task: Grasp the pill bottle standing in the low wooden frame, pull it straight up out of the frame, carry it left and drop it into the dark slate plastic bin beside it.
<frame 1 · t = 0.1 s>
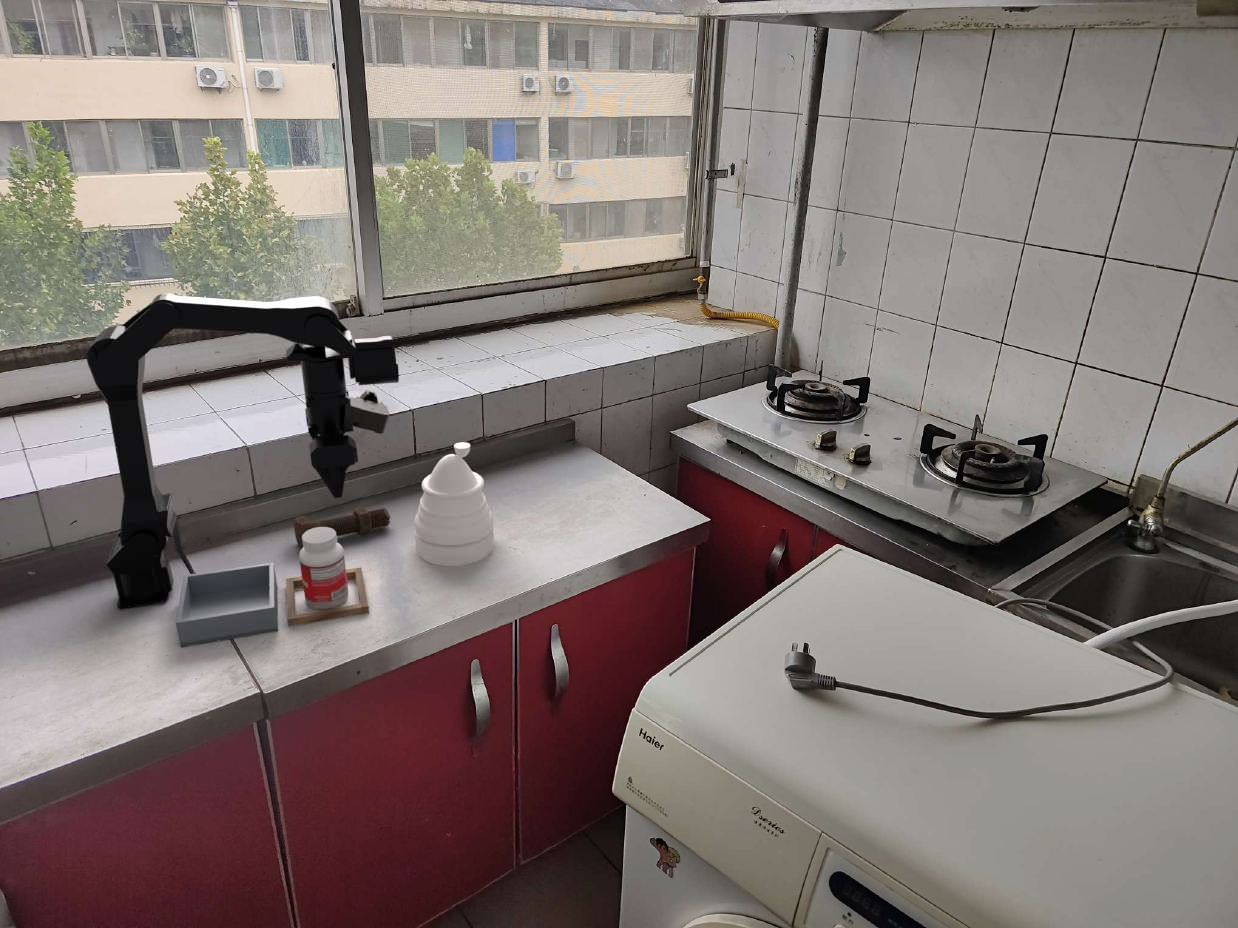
hand: (335, 484, 126), 15 cm above the counter, fingers open, 9 cm apart
bin: (232, 614, 119), on the counter
bolt: (345, 538, 140), on the counter
honey pot: (455, 546, 139), on the counter
wooden frame: (327, 598, 123), on the counter
pill bottle: (327, 600, 123), resting in wooden frame
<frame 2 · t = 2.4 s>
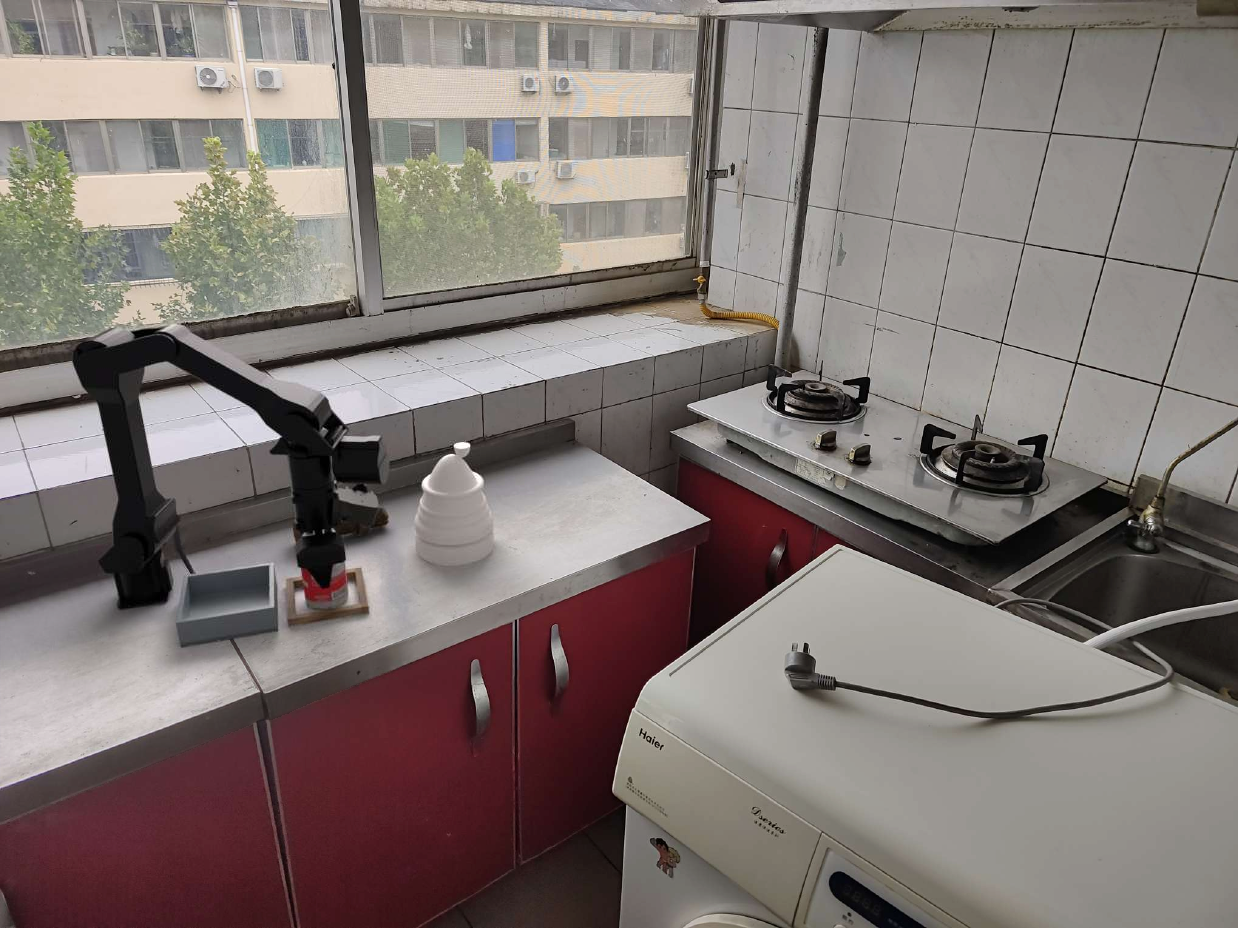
hand: (324, 575, 122), 4 cm above the counter, fingers closed on pill bottle, 6 cm apart
pill bottle: (327, 599, 123), resting in wooden frame, touching gripper
everything else where it was.
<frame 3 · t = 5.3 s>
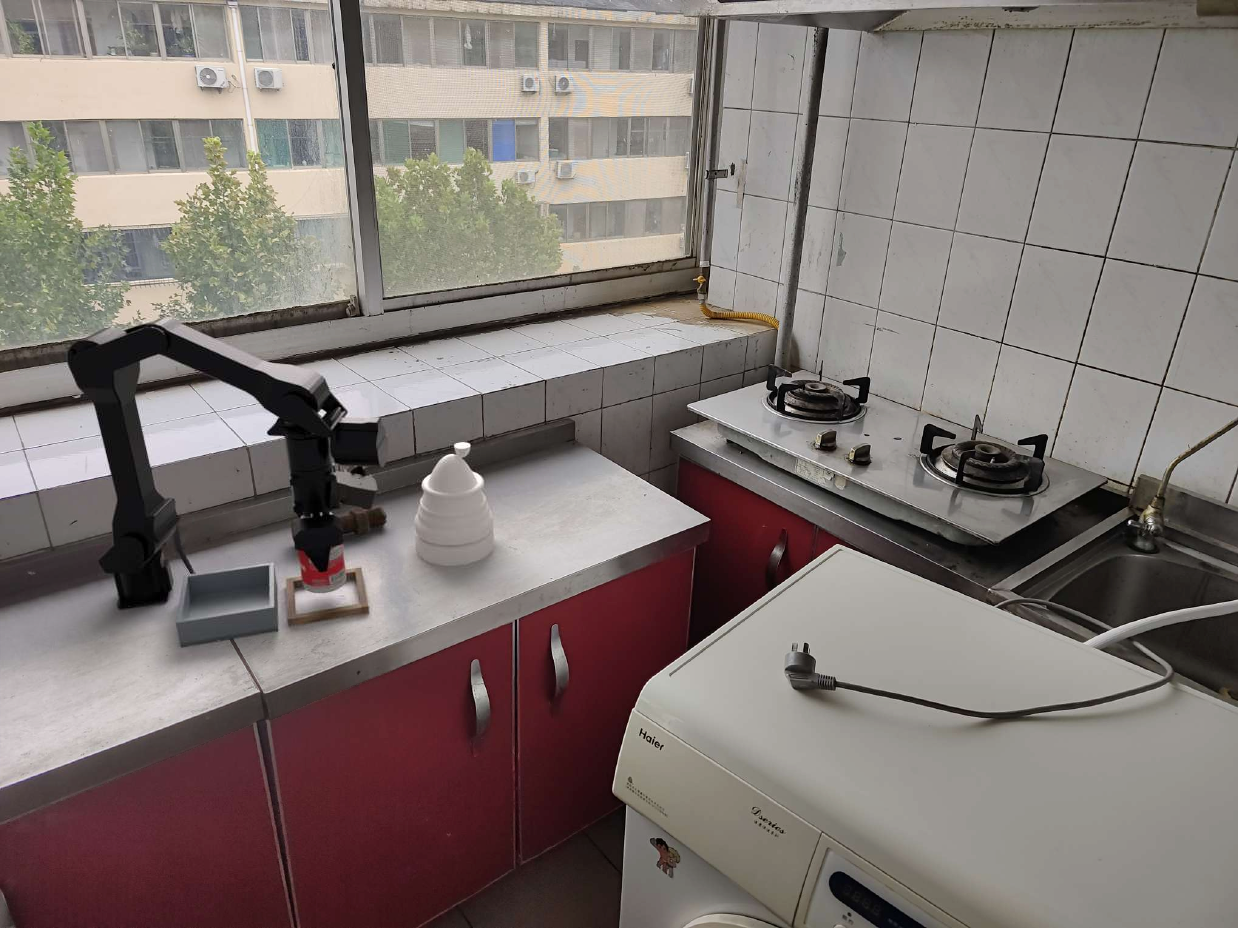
hand: (322, 559, 120), 7 cm above the counter, fingers closed on pill bottle, 6 cm apart
pill bottle: (325, 584, 122), point 3 cm above the counter, touching gripper
everything else where it was.
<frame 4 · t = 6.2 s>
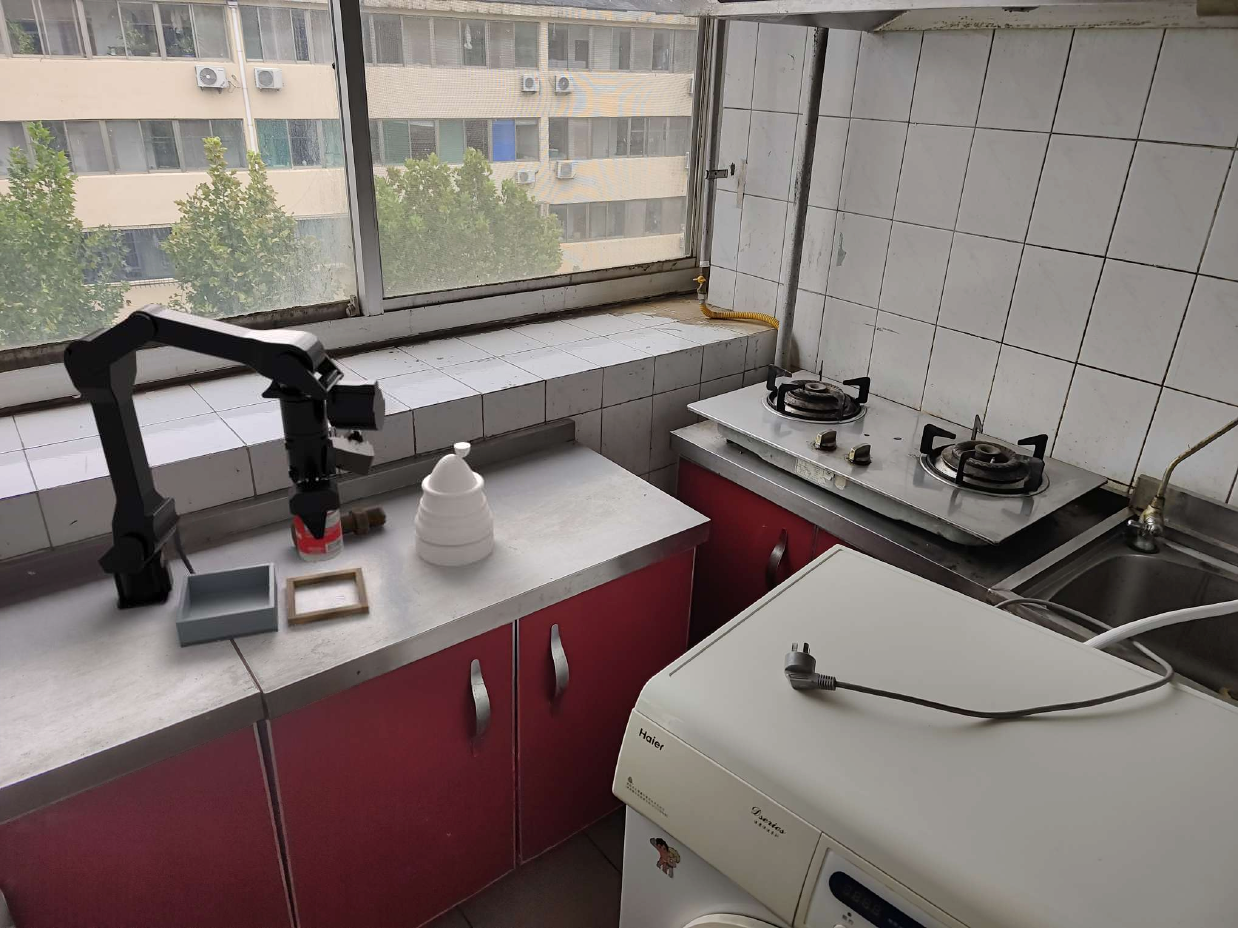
hand: (318, 527, 118), 12 cm above the counter, fingers closed on pill bottle, 6 cm apart
pill bottle: (321, 553, 120), point 8 cm above the counter, touching gripper
everything else where it was.
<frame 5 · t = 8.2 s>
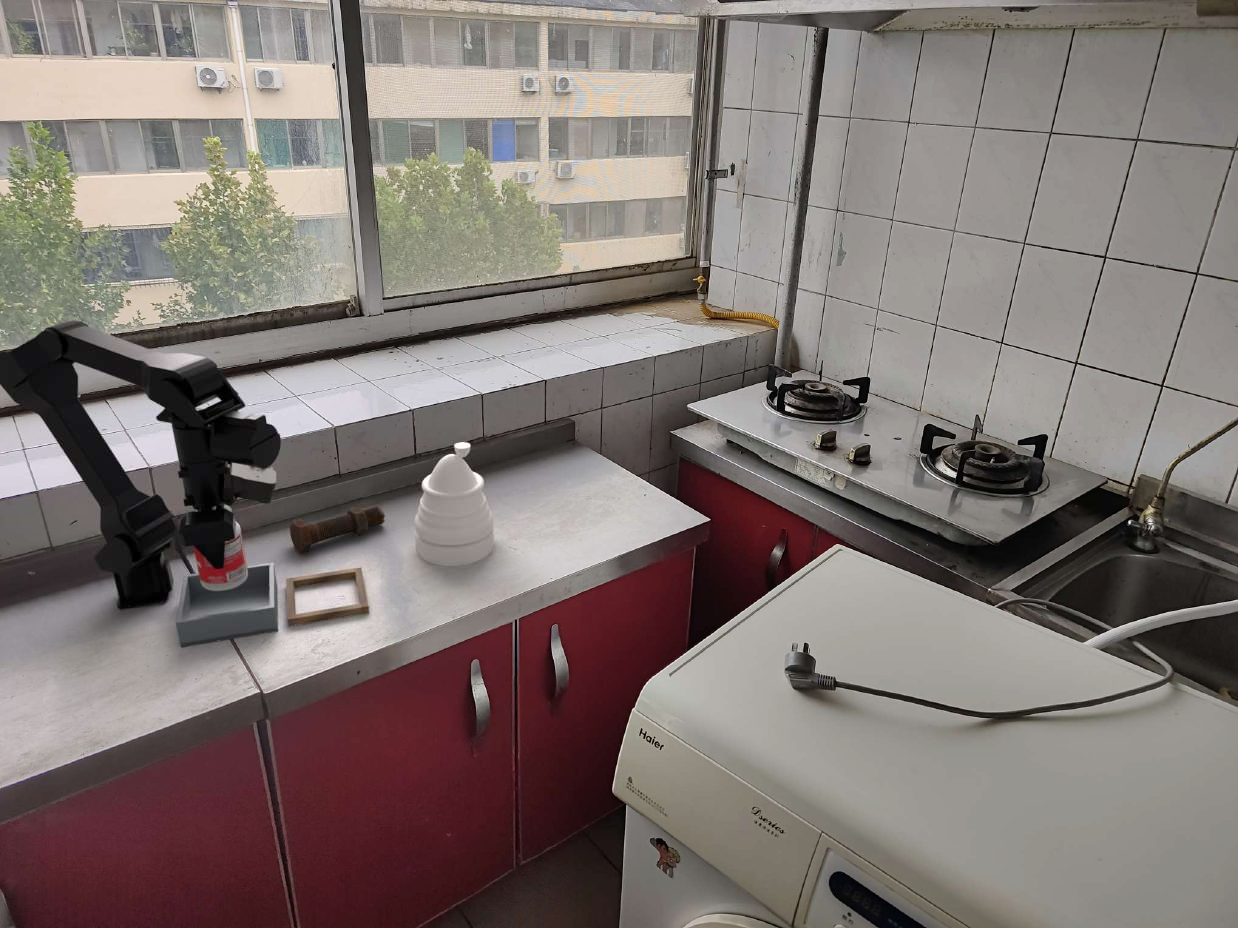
hand: (220, 556, 115), 10 cm above the counter, fingers closed on pill bottle, 6 cm apart
pill bottle: (225, 581, 117), point 5 cm above the counter, touching gripper
everything else where it was.
when the fingers open (6 cm above the counter, at t = 9.6 s): pill bottle drops 1 cm, resting on bin.
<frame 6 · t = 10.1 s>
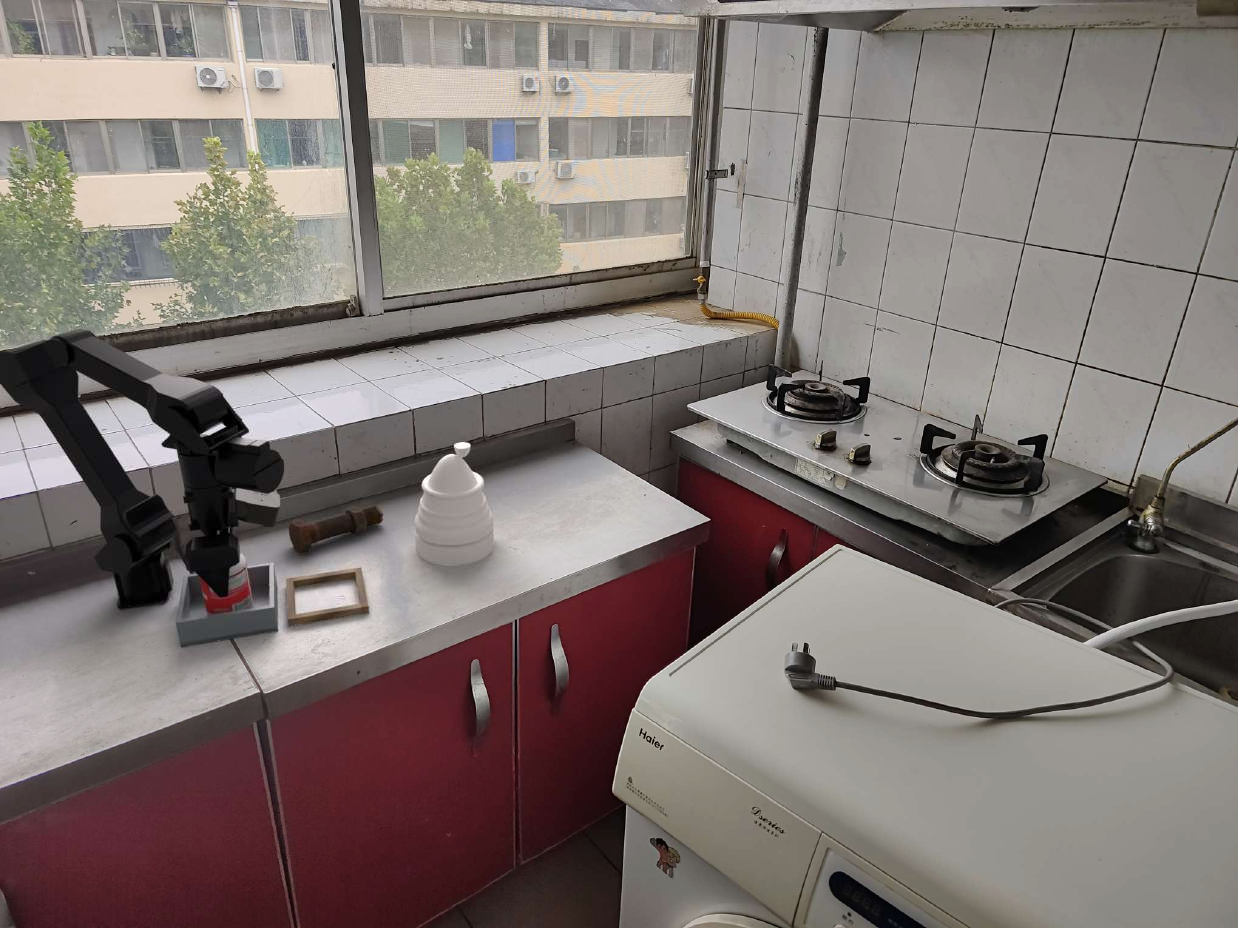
hand: (225, 578, 116), 6 cm above the counter, fingers open, 9 cm apart
pill bottle: (231, 612, 119), resting on bin
everything else where it was.
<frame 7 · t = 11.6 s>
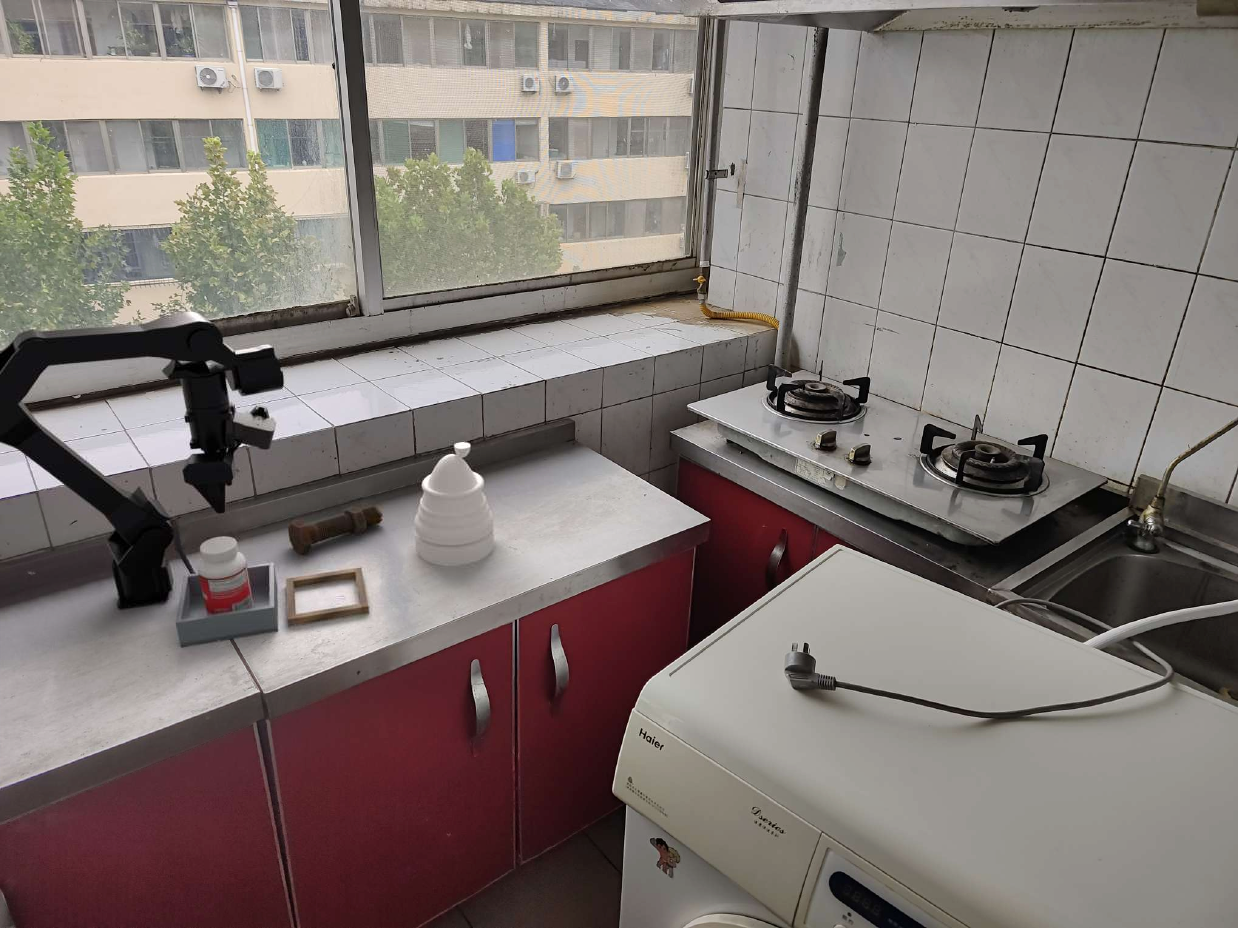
hand: (225, 498, 125), 12 cm above the counter, fingers open, 9 cm apart
nothing on the counter moved.
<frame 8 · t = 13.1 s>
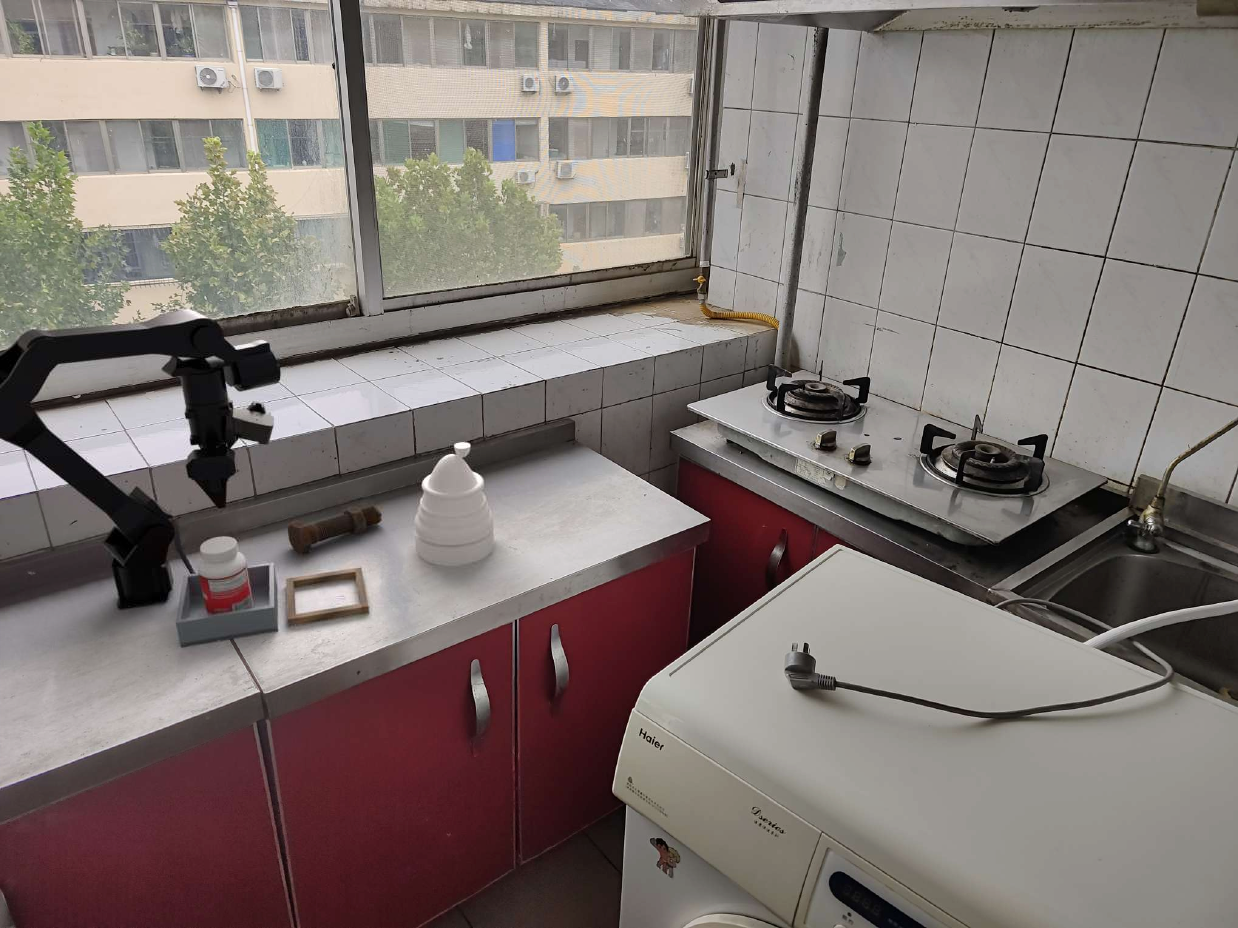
hand: (223, 494, 126), 12 cm above the counter, fingers open, 9 cm apart
at the end: pill bottle inside the target area on the bin (0.1 cm from its centre), point 0.4 cm above the bin's base; the gripper is holding nothing; pill bottle moved 13.1 cm from its start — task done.
